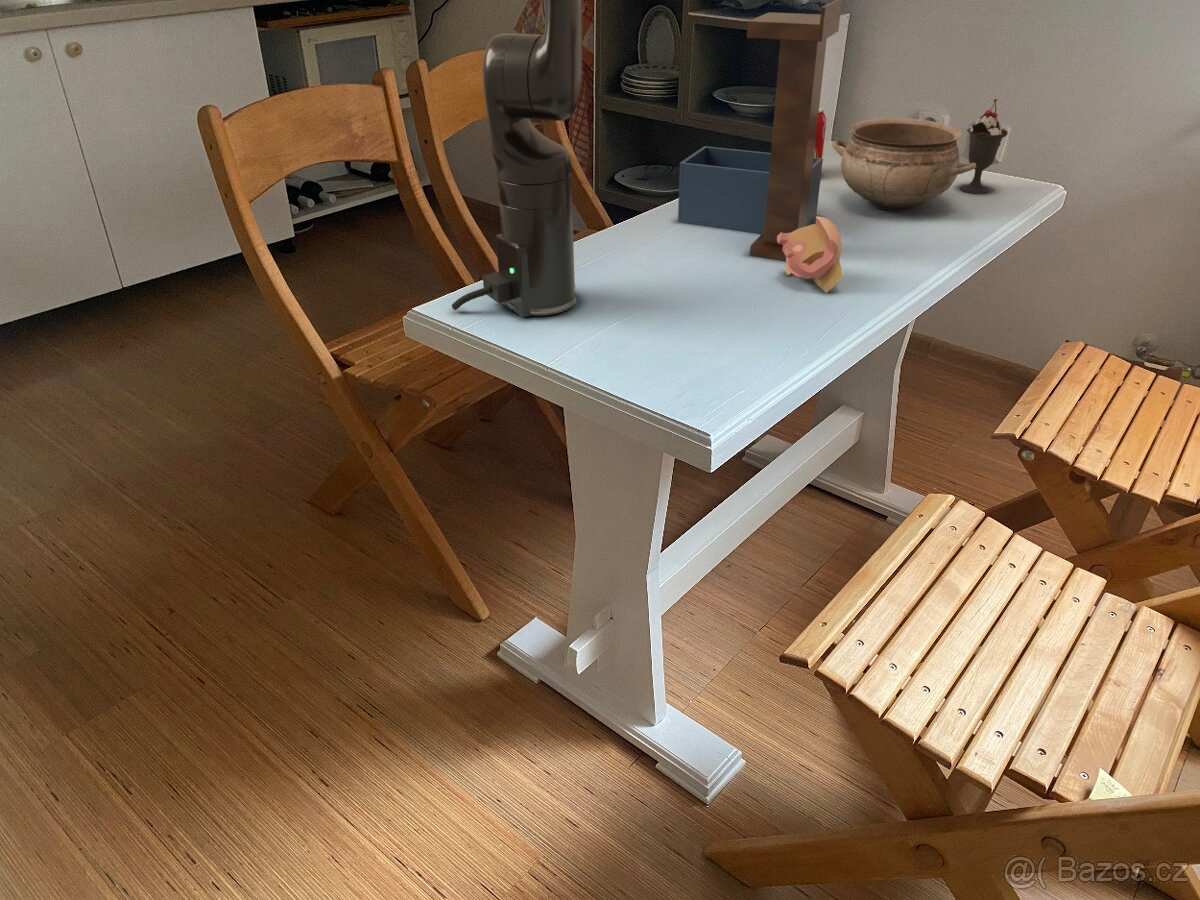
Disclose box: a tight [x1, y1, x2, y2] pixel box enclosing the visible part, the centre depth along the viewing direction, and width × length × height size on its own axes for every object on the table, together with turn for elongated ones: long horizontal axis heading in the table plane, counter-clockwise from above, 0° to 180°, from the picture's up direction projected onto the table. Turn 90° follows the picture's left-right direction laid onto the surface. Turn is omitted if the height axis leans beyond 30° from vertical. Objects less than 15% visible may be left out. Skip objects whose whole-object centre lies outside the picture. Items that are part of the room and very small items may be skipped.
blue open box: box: [677, 145, 824, 235], centre depth 145 cm, size 20×11×10 cm, turn 64°
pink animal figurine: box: [777, 215, 844, 294], centre depth 124 cm, size 9×10×10 cm
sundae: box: [959, 98, 1009, 195], centre depth 155 cm, size 7×7×15 cm
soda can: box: [814, 105, 827, 158], centre depth 165 cm, size 7×7×12 cm
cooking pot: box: [831, 117, 976, 212], centre depth 150 cm, size 25×19×12 cm
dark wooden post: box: [746, 0, 843, 262], centre depth 127 cm, size 10×9×34 cm
